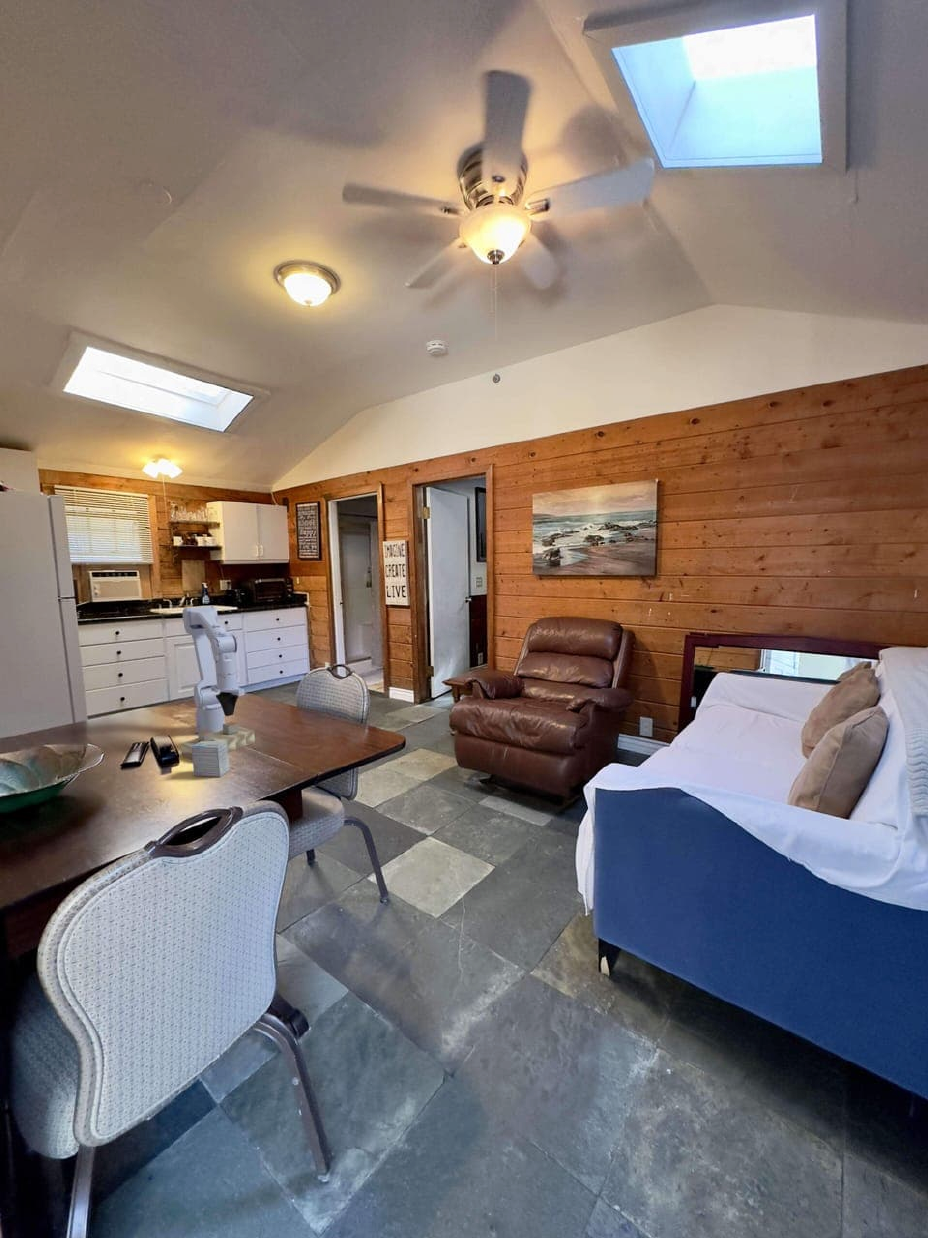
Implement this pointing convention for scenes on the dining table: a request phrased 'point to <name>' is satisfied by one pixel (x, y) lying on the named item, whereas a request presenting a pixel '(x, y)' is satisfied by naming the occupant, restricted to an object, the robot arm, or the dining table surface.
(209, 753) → the medicine box
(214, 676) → the robot arm
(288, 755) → the dining table surface
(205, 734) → the near peg
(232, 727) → the far peg
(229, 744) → the socket board
